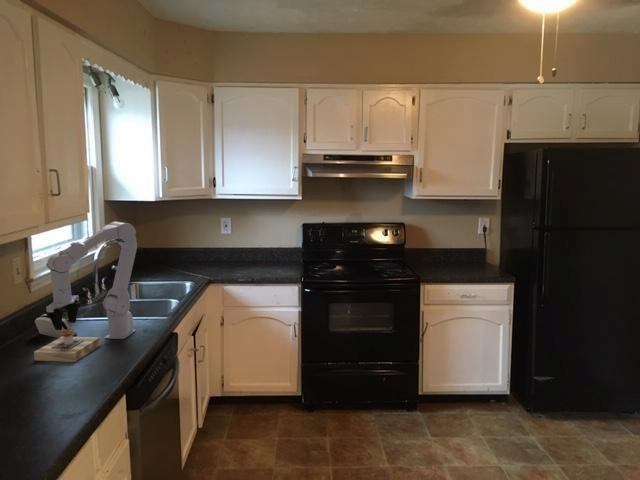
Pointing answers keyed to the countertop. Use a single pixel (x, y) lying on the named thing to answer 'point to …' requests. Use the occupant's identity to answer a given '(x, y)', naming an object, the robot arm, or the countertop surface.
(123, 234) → the robot arm
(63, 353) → the block
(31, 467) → the countertop surface
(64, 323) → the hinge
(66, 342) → the pin
